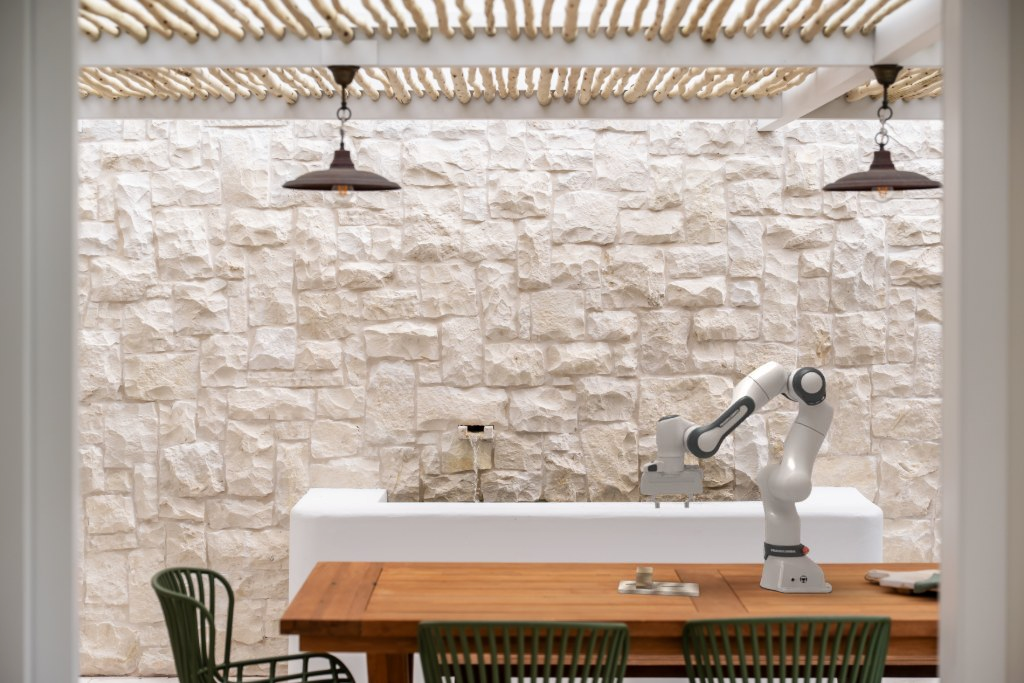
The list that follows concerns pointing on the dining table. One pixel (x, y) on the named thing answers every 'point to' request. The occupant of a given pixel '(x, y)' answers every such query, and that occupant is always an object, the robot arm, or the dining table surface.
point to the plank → (660, 588)
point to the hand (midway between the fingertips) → (672, 507)
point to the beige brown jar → (644, 577)
